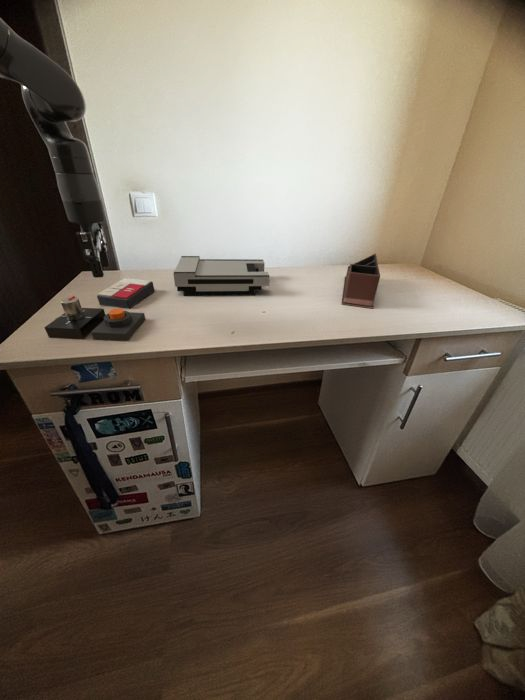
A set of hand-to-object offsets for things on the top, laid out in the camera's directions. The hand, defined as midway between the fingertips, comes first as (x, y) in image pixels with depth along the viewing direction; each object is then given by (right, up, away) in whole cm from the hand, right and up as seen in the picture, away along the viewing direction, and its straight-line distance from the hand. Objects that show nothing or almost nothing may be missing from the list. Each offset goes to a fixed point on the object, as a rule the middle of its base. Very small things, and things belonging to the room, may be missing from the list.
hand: (102, 271), depth 70 cm
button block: (+1, -14, +7) cm, 16 cm away
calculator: (-5, -2, +25) cm, 25 cm away
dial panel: (-10, -13, +7) cm, 18 cm away
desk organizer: (+76, +2, +37) cm, 85 cm away
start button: (+1, -11, +5) cm, 12 cm away
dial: (-10, -11, +6) cm, 16 cm away
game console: (+25, +5, +37) cm, 45 cm away
